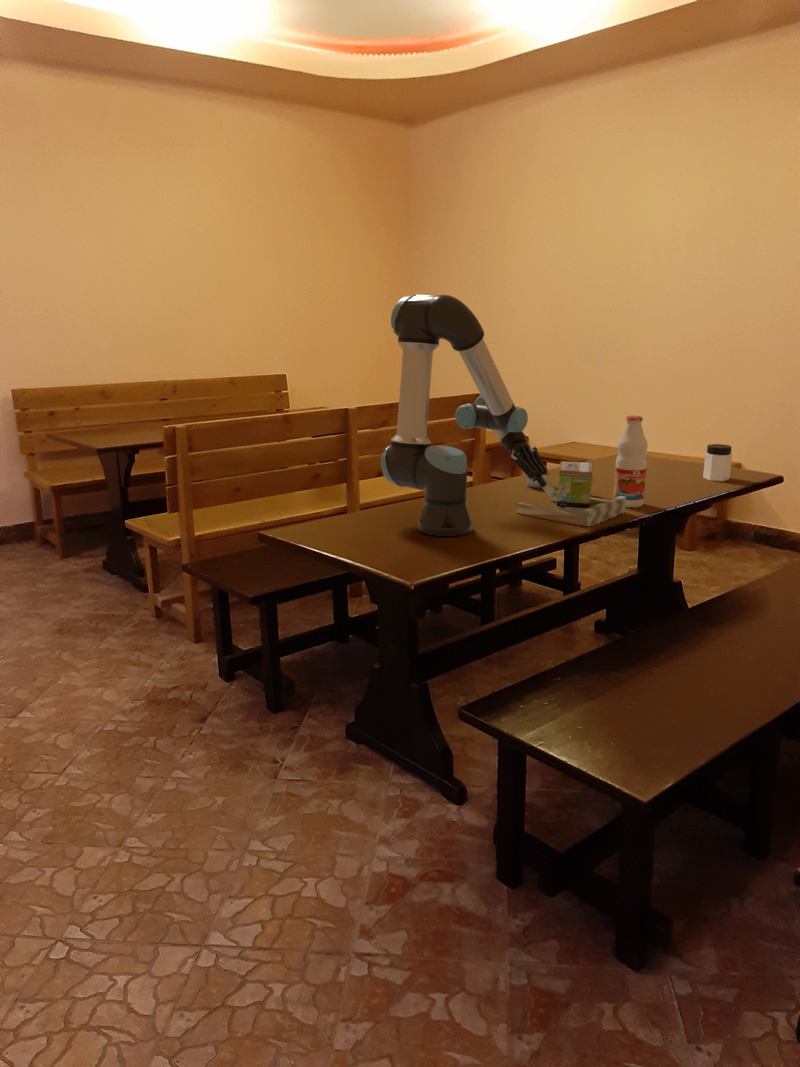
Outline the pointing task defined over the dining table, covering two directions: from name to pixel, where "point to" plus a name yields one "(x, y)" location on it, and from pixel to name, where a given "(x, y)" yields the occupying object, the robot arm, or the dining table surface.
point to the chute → (593, 515)
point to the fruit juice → (631, 463)
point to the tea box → (574, 486)
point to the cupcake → (535, 483)
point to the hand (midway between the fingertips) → (552, 493)
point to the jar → (717, 462)
